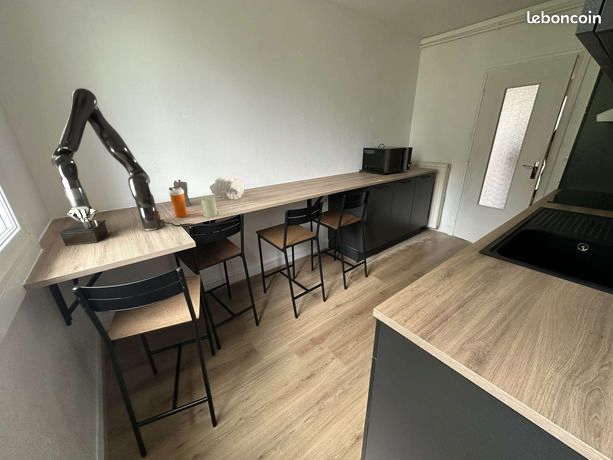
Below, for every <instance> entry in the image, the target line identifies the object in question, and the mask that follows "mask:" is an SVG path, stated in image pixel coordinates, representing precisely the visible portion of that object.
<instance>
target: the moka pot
mask: <svg viewBox="0 0 613 460" xmlns="http://www.w3.org/2000/svg"><path fill="white" fill-rule="evenodd" d="M172 185H173V187H175V186H181V189H183V190H184V197H185V203H186V208H187V207H189V206H191V201H190V198H189V196H188V183H187V181H181V179H178V181H176V180H174V182H173V184H172Z"/></svg>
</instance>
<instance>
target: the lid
mask: <svg viewBox="0 0 613 460" xmlns="http://www.w3.org/2000/svg"><path fill="white" fill-rule="evenodd" d="M104 222H105V223H106V222H107V220H106V219H103V220H102V219H101V220H98V218H97V216H95V217H94V219H92V220H91V224H92V227H91V228H89V229H86V228H85V227H84V225H83V222H74V223H72V224H71V225H69V226H67V227H66V228H64V229H63V230H61V231H60V232H59V235H61V234H64V233H73V232H82V231H91V230H95V229H97V228H98V227H99V226H101V225H102V224H103V223H104Z"/></svg>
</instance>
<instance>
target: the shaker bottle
mask: <svg viewBox="0 0 613 460" xmlns="http://www.w3.org/2000/svg"><path fill="white" fill-rule="evenodd" d="M168 190H169V191H168V195H169V197H170V200H171V205H172V208H173V211H174V215H175V218H179V219H180V218H181V219H182V218H185V217H188V211H187V210H188V209H187V207H186V203H185V197H184V190H183V189H181V186H175V187H174V186H173V187H170V186H169V187H168Z"/></svg>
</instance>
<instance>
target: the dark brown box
mask: <svg viewBox="0 0 613 460" xmlns="http://www.w3.org/2000/svg"><path fill="white" fill-rule="evenodd" d="M108 234H109V231H108V228H107V225H106V222H104V223H103V224H102V225H101V226H99V227H98V228H97V229H95V230H92V231H82V232H73V233H64V234H60V237H61V239H62V241H63V243H64V246H67V247H68V246H76V245H85V244H96V243H99V242H100V241H101V240H102V239H103V238H105V237H106V236H107V235H108Z"/></svg>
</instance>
